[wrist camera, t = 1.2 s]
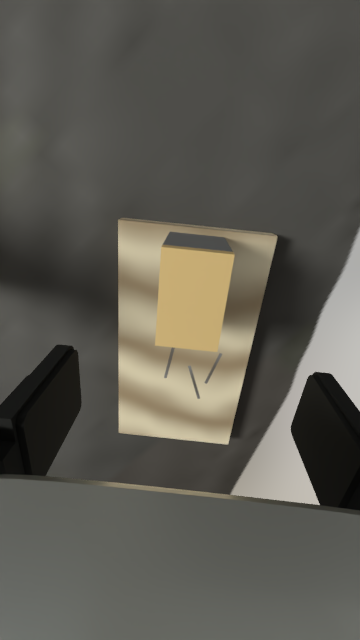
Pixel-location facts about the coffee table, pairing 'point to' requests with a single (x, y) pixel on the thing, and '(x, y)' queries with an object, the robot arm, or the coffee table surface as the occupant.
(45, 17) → the coffee table surface
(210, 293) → the block
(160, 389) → the board
